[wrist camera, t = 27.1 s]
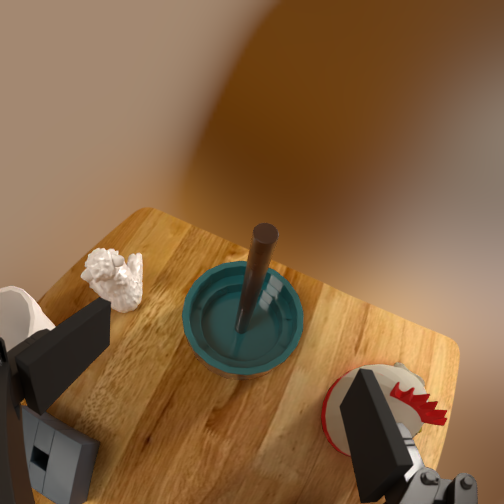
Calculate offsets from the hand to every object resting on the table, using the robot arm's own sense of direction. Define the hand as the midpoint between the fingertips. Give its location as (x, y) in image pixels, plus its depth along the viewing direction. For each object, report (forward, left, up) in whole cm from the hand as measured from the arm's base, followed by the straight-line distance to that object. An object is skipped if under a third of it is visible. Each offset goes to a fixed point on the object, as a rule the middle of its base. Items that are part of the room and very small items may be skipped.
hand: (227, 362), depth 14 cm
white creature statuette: (-20, +1, -25) cm, 32 cm away
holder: (-8, -24, -25) cm, 36 cm away
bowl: (-4, +9, -25) cm, 27 cm away
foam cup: (-20, -14, -25) cm, 35 cm away
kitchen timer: (+18, +11, -25) cm, 32 cm away
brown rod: (-4, +9, -24) cm, 26 cm away
